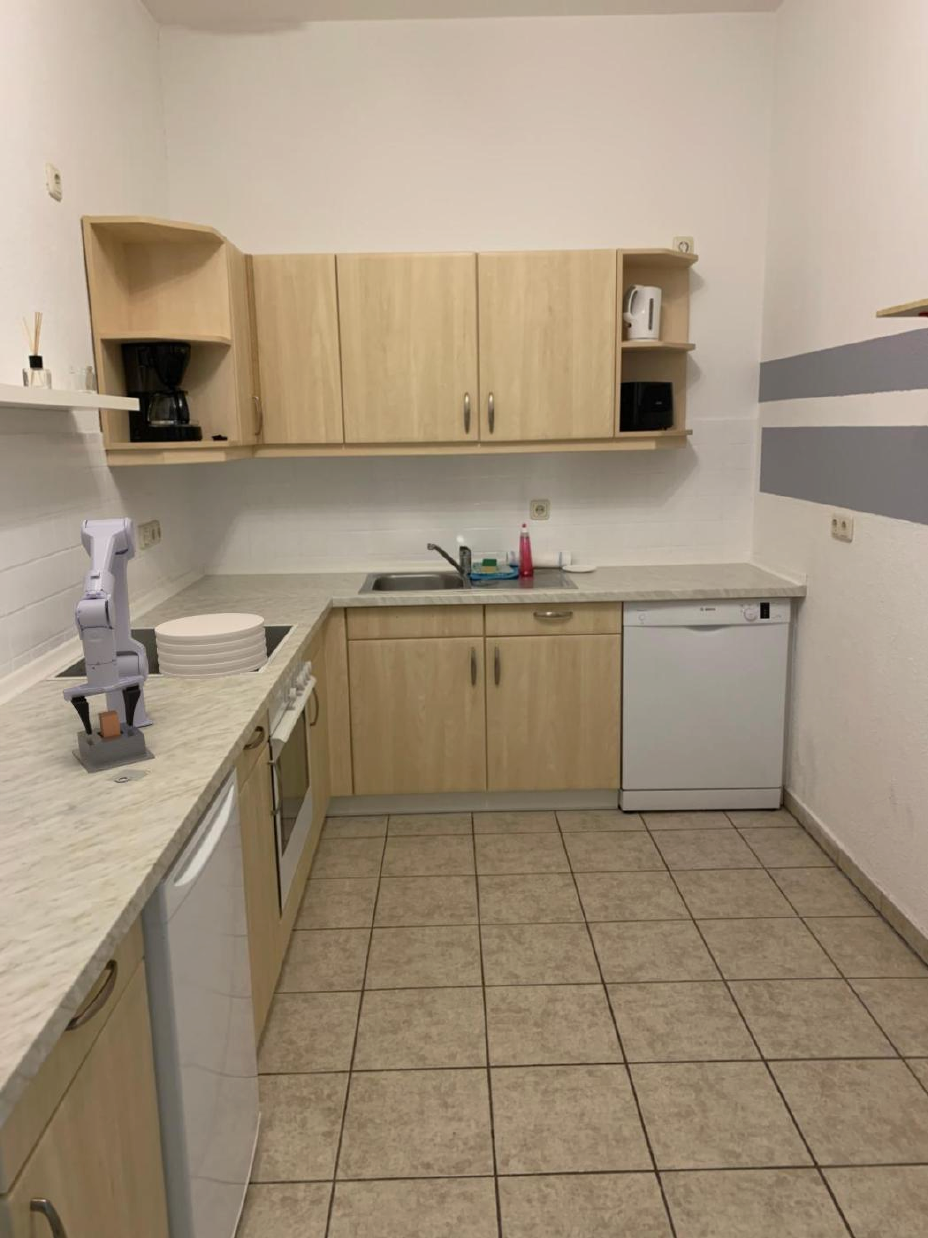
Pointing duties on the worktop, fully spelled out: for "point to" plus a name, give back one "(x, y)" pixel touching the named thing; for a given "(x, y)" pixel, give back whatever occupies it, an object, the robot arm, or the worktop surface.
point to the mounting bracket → (128, 775)
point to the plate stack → (211, 645)
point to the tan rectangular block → (109, 723)
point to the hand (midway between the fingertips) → (109, 729)
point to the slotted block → (111, 748)
